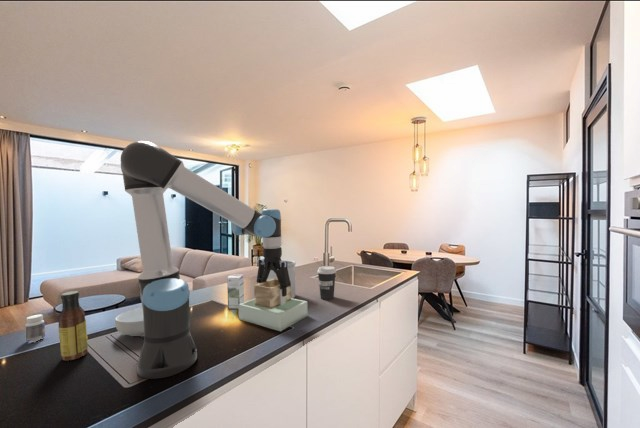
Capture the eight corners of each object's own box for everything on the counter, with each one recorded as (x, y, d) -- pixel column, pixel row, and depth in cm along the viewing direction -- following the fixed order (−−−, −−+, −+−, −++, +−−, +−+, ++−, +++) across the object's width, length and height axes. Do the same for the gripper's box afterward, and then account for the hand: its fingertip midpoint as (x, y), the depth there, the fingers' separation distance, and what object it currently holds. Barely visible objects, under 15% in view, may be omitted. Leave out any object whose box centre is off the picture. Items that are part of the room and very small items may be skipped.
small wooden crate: (271, 309, 107) (271, 288, 106) (254, 305, 111) (254, 285, 111) (291, 300, 117) (290, 281, 116) (275, 296, 121) (274, 278, 121)
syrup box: (244, 305, 130) (244, 274, 129) (239, 309, 124) (239, 277, 123) (232, 304, 130) (232, 273, 130) (227, 309, 124) (226, 277, 124)
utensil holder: (261, 300, 136) (260, 264, 135) (273, 291, 150) (273, 259, 150) (290, 302, 132) (289, 265, 132) (299, 293, 147) (299, 260, 146)
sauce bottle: (85, 349, 90) (83, 288, 90) (90, 355, 86) (88, 291, 86) (57, 357, 85) (55, 293, 85) (61, 365, 81) (59, 296, 81)
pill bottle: (47, 339, 98) (46, 315, 98) (28, 344, 94) (27, 320, 94) (42, 336, 100) (41, 312, 100) (23, 341, 96) (22, 317, 96)
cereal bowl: (180, 325, 108) (179, 307, 108) (142, 345, 92) (141, 324, 92) (145, 321, 113) (144, 303, 112) (103, 339, 97) (102, 319, 96)
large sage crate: (280, 331, 101) (280, 314, 101) (238, 319, 113) (238, 304, 113) (307, 315, 115) (307, 301, 115) (268, 306, 127) (267, 293, 127)
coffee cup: (314, 296, 141) (313, 266, 140) (331, 293, 145) (330, 265, 144) (322, 302, 132) (322, 270, 132) (340, 299, 136) (339, 268, 136)
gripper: (299, 247, 111) (300, 303, 111) (259, 244, 123) (260, 295, 123) (287, 250, 105) (288, 309, 105) (246, 246, 116) (248, 300, 117)
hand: (273, 301), depth 114 cm, fingers closed on small wooden crate, 9 cm apart
